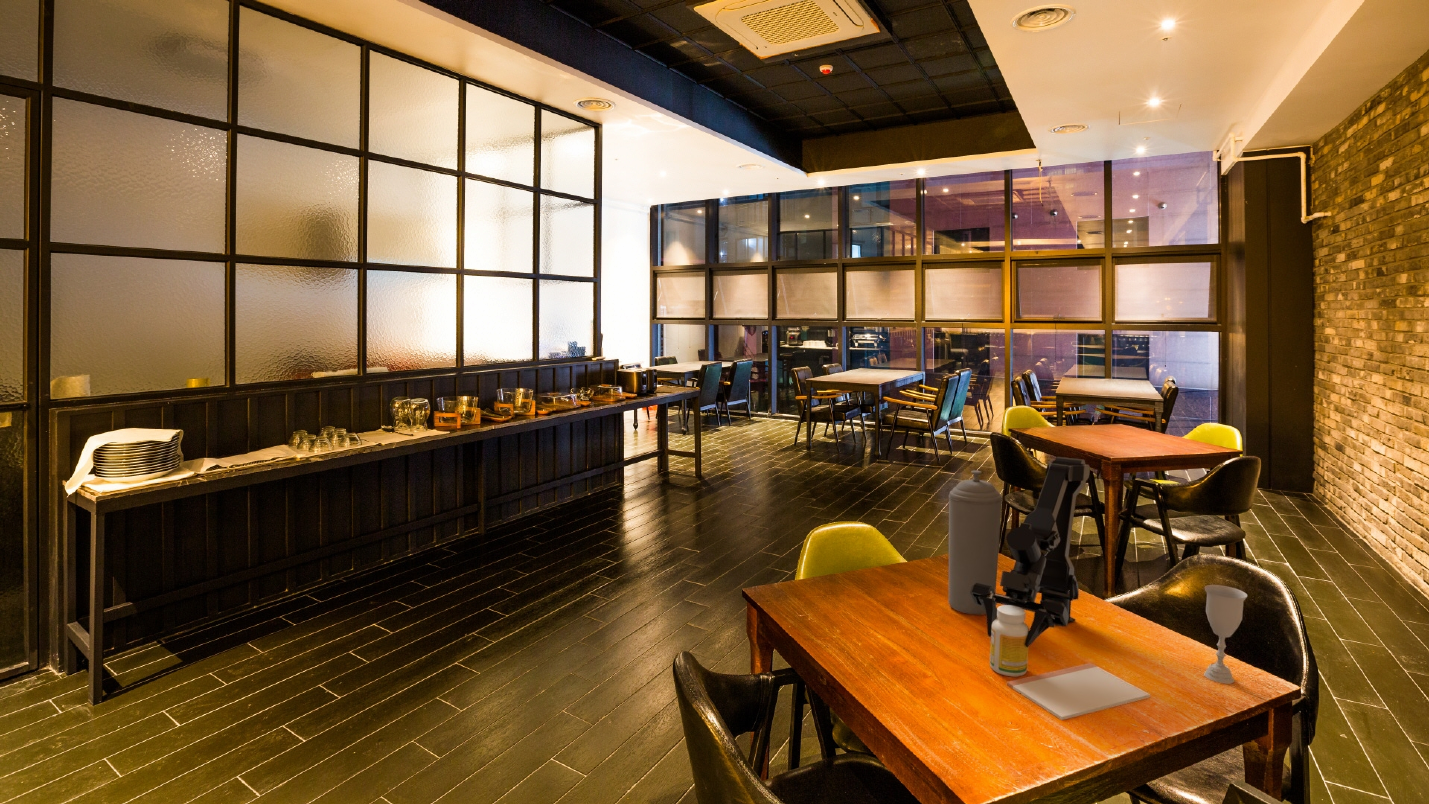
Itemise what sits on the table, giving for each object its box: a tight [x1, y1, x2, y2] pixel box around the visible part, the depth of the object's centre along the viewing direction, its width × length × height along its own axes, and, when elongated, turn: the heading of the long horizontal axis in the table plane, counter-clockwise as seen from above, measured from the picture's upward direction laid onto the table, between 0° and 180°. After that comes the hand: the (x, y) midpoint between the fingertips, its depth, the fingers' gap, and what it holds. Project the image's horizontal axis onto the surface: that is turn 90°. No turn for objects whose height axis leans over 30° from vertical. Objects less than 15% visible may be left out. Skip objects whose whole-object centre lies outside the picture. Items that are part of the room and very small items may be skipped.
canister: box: [948, 470, 1004, 616], centre depth 180 cm, size 13×13×35 cm
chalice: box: [1203, 584, 1248, 685], centre depth 144 cm, size 7×7×18 cm
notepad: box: [1006, 662, 1151, 721], centre depth 140 cm, size 22×14×1 cm, turn 110°
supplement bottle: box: [989, 604, 1030, 678], centre depth 149 cm, size 7×7×13 cm
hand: (1007, 641), depth 147 cm, fingers closed on supplement bottle, 7 cm apart
